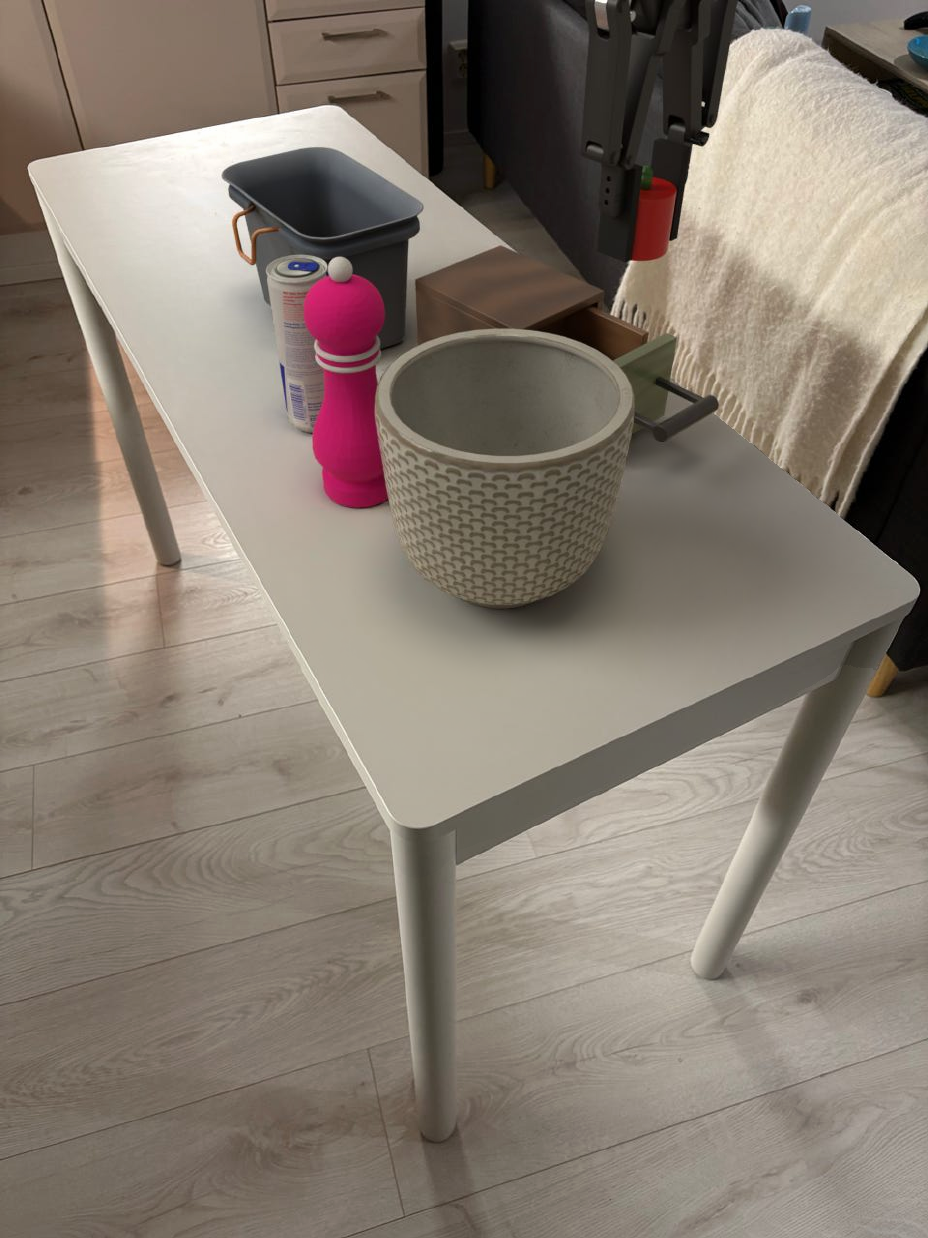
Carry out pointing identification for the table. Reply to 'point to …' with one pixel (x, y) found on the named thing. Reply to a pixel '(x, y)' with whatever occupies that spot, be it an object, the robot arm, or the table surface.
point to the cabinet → (497, 295)
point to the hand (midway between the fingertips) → (637, 243)
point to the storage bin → (328, 220)
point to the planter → (503, 460)
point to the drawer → (638, 368)
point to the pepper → (653, 217)
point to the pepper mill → (347, 384)
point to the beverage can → (296, 336)
